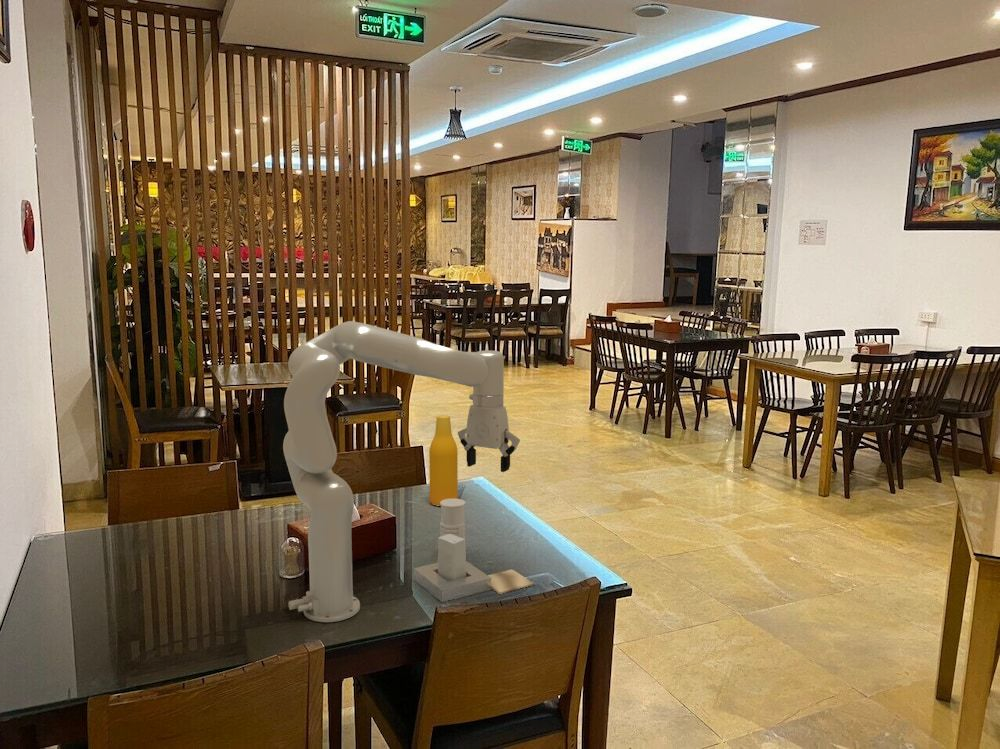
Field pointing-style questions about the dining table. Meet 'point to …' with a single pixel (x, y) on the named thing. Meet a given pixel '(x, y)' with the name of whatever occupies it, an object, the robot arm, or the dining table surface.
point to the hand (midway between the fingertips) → (488, 468)
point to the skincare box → (451, 557)
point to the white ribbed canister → (452, 517)
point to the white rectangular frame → (452, 582)
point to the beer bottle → (443, 463)
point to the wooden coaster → (508, 581)
